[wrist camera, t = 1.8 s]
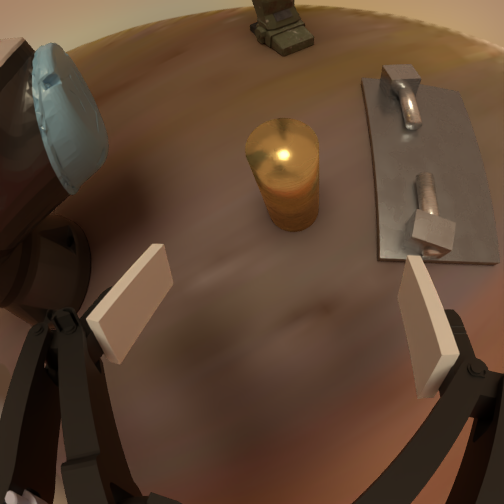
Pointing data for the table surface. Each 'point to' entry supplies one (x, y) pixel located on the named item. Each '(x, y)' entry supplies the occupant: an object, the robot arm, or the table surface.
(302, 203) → the orange glossy cylinder
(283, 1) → the mechanical leg
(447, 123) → the bed plate
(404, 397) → the table surface
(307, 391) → the table surface
